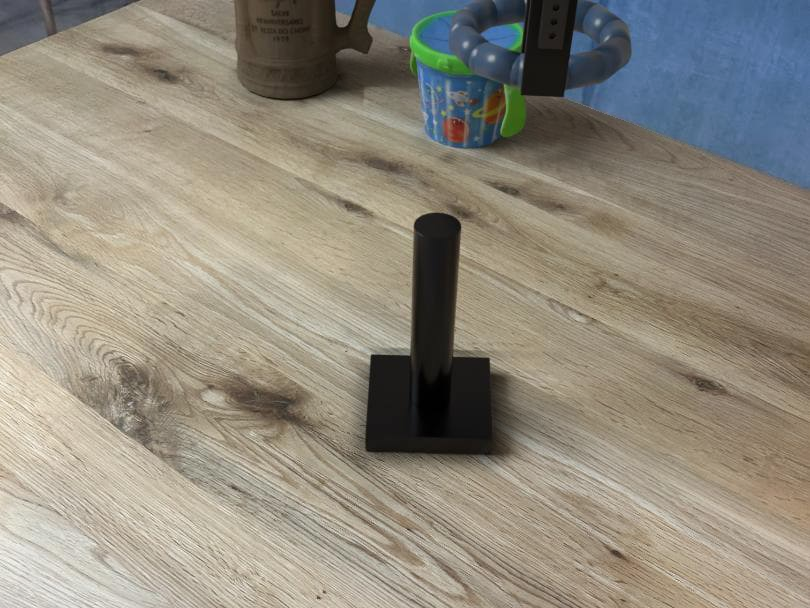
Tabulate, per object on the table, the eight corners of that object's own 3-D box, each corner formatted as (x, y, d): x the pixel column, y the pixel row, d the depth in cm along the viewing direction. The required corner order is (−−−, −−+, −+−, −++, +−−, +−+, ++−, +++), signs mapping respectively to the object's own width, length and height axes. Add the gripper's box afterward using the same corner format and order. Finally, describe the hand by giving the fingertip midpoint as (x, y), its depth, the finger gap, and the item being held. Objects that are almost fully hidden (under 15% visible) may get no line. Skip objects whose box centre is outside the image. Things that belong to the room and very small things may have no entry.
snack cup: (379, 113, 107) (379, 9, 99) (469, 92, 110) (476, -10, 102) (454, 188, 98) (460, 80, 90) (550, 162, 101) (564, 56, 93)
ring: (623, 22, 74) (628, -7, 73) (632, 102, 66) (638, 70, 65) (453, 10, 75) (455, -20, 73) (442, 87, 67) (444, 56, 65)
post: (488, 372, 80) (506, 188, 69) (491, 455, 75) (512, 269, 63) (370, 369, 81) (369, 185, 69) (365, 451, 75) (362, 265, 63)
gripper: (519, -439, 54) (481, 27, 72) (529, -386, 44) (482, 140, 62) (664, -433, 54) (591, 32, 72) (707, -378, 44) (610, 146, 62)
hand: (541, 81), depth 67 cm, fingers closed on ring, 2 cm apart
